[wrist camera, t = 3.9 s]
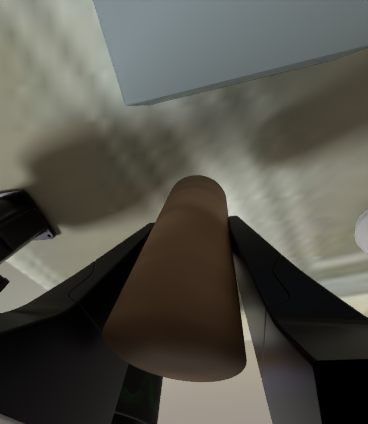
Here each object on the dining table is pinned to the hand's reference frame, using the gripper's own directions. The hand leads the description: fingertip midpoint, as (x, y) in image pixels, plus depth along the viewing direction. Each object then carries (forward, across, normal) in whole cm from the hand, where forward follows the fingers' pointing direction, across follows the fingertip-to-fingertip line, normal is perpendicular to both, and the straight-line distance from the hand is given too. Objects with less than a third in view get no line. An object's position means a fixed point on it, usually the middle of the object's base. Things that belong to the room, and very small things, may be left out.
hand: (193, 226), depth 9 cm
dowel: (+3, 0, 0) cm, 3 cm away
